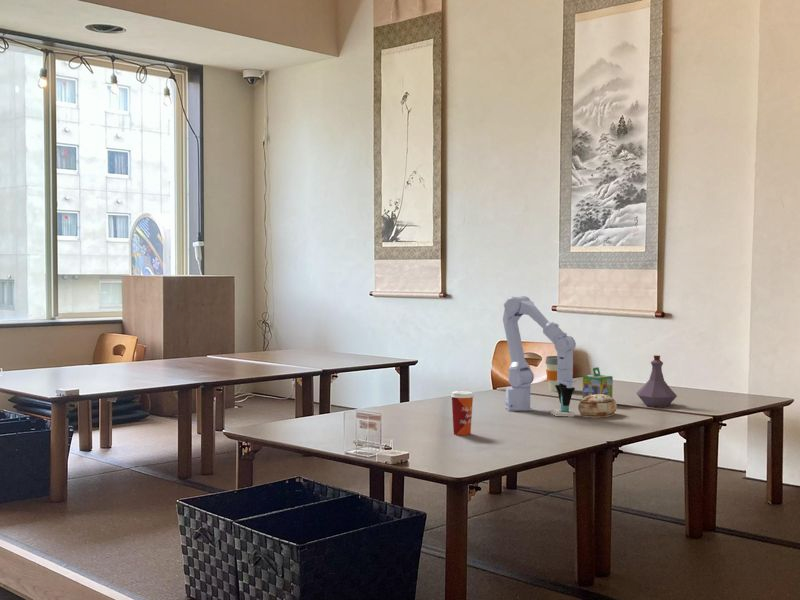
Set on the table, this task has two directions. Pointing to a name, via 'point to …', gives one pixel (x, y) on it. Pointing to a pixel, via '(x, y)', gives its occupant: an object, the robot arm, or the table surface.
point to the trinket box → (597, 406)
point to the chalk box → (597, 384)
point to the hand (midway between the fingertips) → (564, 404)
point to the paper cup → (462, 412)
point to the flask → (656, 387)
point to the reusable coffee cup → (552, 372)
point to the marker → (564, 408)
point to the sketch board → (561, 413)
